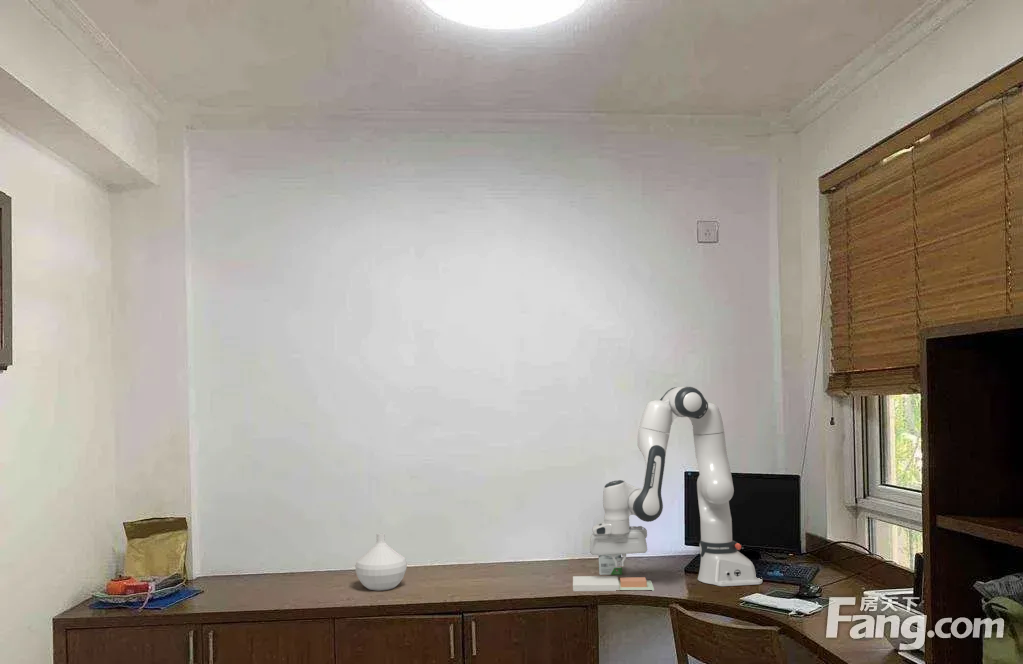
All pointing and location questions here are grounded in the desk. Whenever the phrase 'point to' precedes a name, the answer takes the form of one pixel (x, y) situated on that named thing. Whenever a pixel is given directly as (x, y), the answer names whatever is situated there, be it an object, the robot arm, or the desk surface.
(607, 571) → the ink box
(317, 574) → the desk surface
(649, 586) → the mat
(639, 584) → the card
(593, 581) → the deck
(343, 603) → the desk surface
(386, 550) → the vase
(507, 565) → the desk surface
